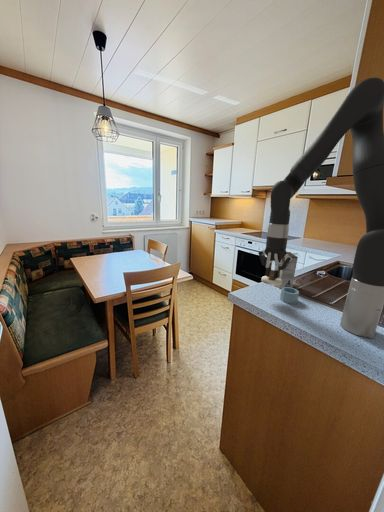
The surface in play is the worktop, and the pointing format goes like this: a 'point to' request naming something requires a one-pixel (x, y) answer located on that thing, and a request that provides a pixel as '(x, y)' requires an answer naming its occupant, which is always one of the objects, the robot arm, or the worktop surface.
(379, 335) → the worktop surface
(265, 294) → the worktop surface
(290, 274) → the coffee box
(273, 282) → the lid
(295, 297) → the bowl
